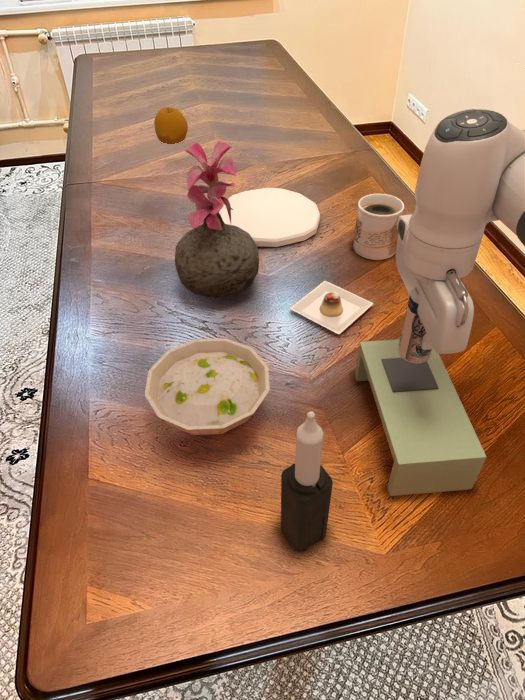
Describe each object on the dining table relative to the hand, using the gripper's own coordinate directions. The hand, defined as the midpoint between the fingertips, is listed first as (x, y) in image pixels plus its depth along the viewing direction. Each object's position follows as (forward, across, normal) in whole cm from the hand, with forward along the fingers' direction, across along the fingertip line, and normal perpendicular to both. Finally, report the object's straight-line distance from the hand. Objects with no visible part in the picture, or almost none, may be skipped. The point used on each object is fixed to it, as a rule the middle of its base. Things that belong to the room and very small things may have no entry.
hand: (419, 331), depth 77 cm
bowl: (+17, +1, +31) cm, 35 cm away
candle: (+17, -20, +19) cm, 32 cm away
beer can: (+5, 0, 0) cm, 5 cm away
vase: (+17, +36, +29) cm, 49 cm away
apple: (+17, +109, +41) cm, 117 cm away
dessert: (+17, +26, +7) cm, 32 cm away
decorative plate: (+17, +62, +16) cm, 66 cm away
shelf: (+17, -4, 0) cm, 17 cm away
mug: (+17, +48, -7) cm, 51 cm away
